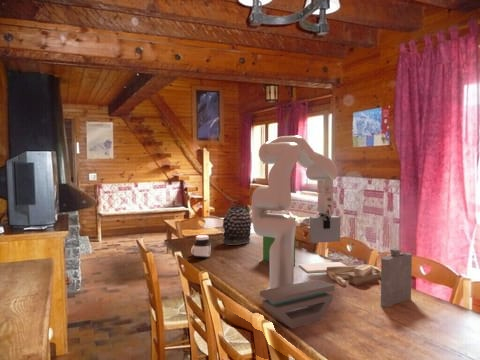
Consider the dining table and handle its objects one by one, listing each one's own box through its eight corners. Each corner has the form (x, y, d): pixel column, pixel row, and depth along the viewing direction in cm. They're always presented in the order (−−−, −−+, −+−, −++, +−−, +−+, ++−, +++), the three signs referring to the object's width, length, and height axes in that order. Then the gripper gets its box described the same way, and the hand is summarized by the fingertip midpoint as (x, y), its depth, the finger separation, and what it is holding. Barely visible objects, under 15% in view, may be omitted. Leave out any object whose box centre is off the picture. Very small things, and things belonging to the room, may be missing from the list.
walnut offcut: (378, 282, 171) (378, 273, 171) (355, 286, 166) (355, 277, 166) (370, 279, 176) (370, 270, 175) (348, 283, 171) (348, 274, 171)
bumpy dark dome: (241, 239, 263) (241, 202, 262) (257, 242, 252) (257, 203, 251) (217, 243, 249) (216, 204, 248) (232, 247, 238) (232, 206, 237)
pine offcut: (372, 272, 173) (372, 265, 173) (362, 277, 166) (363, 270, 166) (363, 270, 175) (363, 264, 175) (354, 275, 169) (354, 268, 169)
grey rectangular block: (340, 241, 191) (340, 217, 191) (312, 242, 189) (312, 217, 188) (336, 239, 195) (336, 215, 195) (309, 241, 193) (309, 216, 192)
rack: (391, 282, 170) (391, 274, 170) (342, 286, 166) (342, 277, 166) (371, 271, 186) (371, 264, 186) (326, 274, 182) (326, 267, 182)
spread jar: (205, 260, 209) (204, 238, 209) (185, 258, 213) (185, 237, 212) (213, 254, 221) (213, 234, 220) (195, 253, 224) (195, 233, 224)
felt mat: (351, 270, 189) (351, 268, 189) (307, 272, 185) (307, 270, 185) (340, 263, 201) (340, 261, 201) (299, 266, 197) (299, 264, 197)
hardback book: (295, 265, 198) (295, 218, 197) (283, 267, 195) (283, 219, 193) (274, 257, 214) (274, 213, 212) (263, 259, 210) (263, 214, 209)
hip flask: (386, 308, 141) (387, 253, 140) (376, 304, 144) (377, 250, 143) (412, 299, 150) (413, 247, 149) (403, 296, 153) (404, 245, 152)
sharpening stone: (273, 333, 121) (273, 298, 121) (259, 324, 128) (259, 291, 127) (334, 316, 134) (334, 285, 133) (318, 309, 141) (318, 279, 140)
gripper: (339, 191, 183) (339, 230, 184) (325, 188, 200) (325, 224, 201) (324, 191, 182) (324, 231, 183) (311, 189, 198) (311, 225, 199)
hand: (324, 227), depth 192 cm, fingers closed on grey rectangular block, 4 cm apart
